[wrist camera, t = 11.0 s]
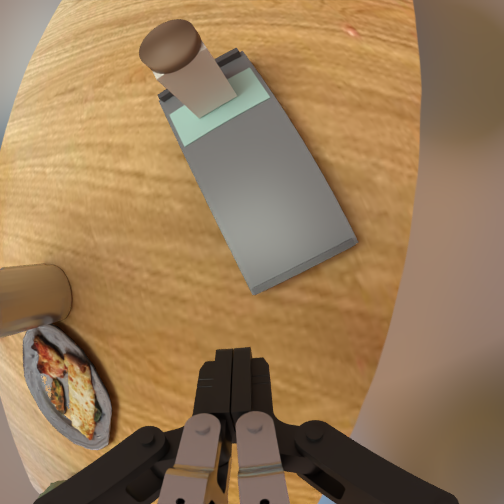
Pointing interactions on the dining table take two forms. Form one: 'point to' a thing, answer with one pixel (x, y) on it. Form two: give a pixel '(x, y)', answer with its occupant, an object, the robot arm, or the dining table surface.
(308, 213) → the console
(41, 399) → the food plate
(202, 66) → the brown piece
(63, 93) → the dining table surface
